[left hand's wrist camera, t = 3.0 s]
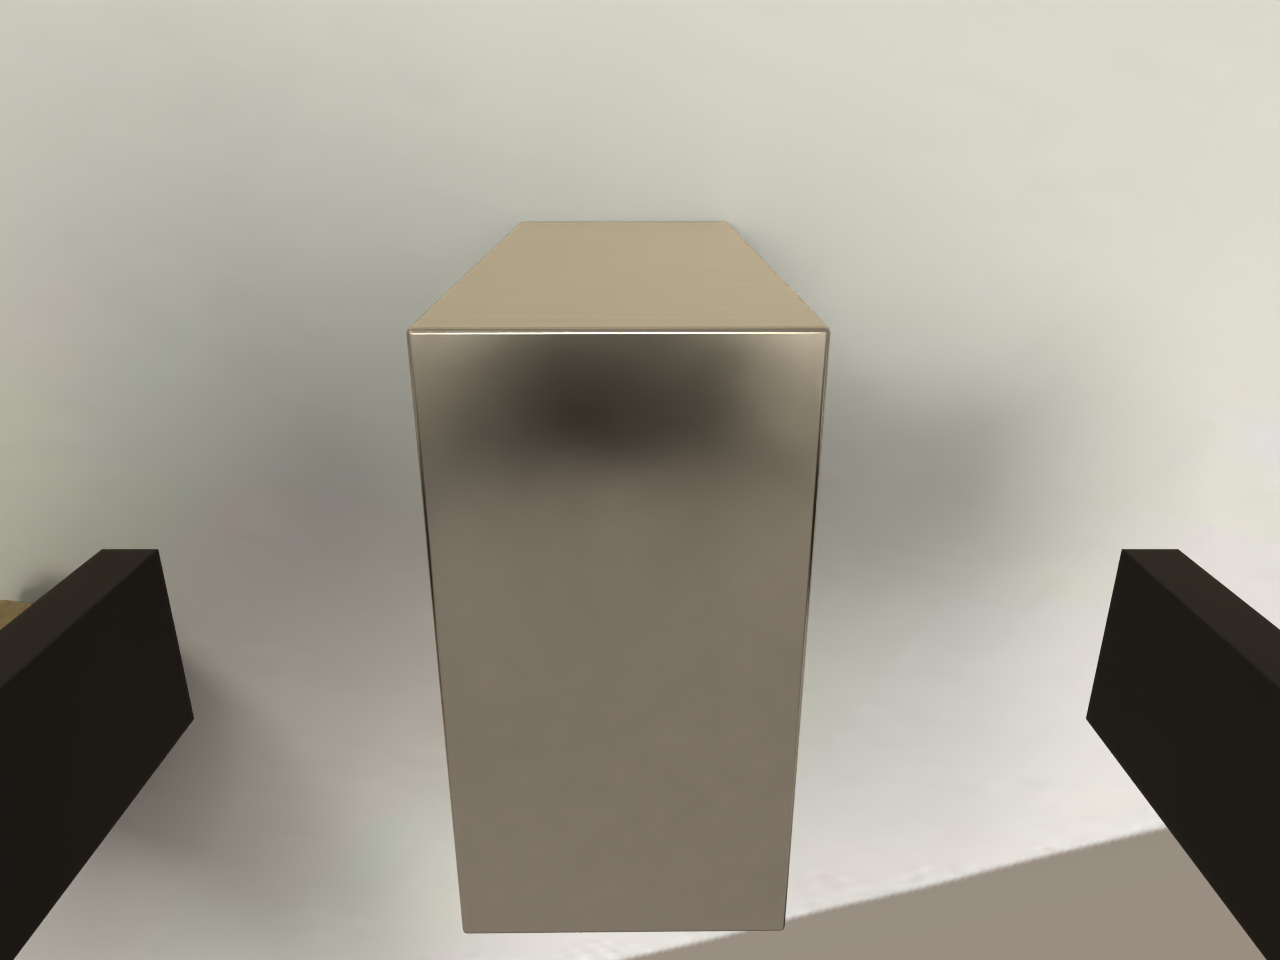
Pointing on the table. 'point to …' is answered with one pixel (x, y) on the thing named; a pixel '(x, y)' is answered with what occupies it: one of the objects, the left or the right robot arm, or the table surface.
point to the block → (620, 572)
